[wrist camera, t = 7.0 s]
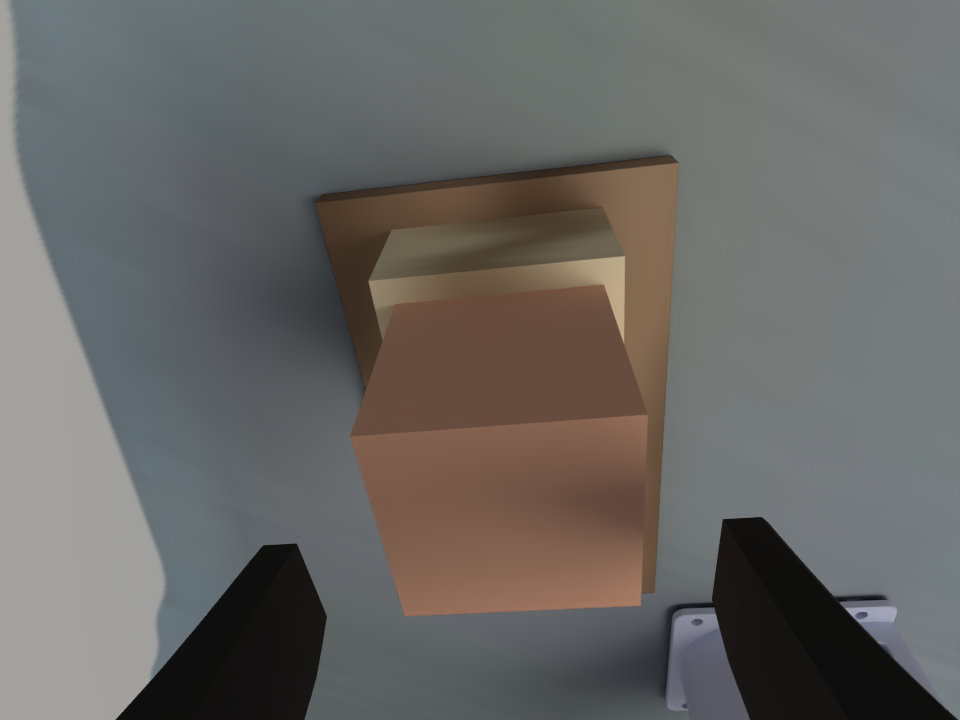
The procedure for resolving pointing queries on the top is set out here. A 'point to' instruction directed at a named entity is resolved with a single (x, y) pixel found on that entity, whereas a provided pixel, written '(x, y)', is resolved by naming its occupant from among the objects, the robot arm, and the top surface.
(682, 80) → the top surface
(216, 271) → the top surface
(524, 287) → the birch block
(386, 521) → the terracotta block
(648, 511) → the base plate
